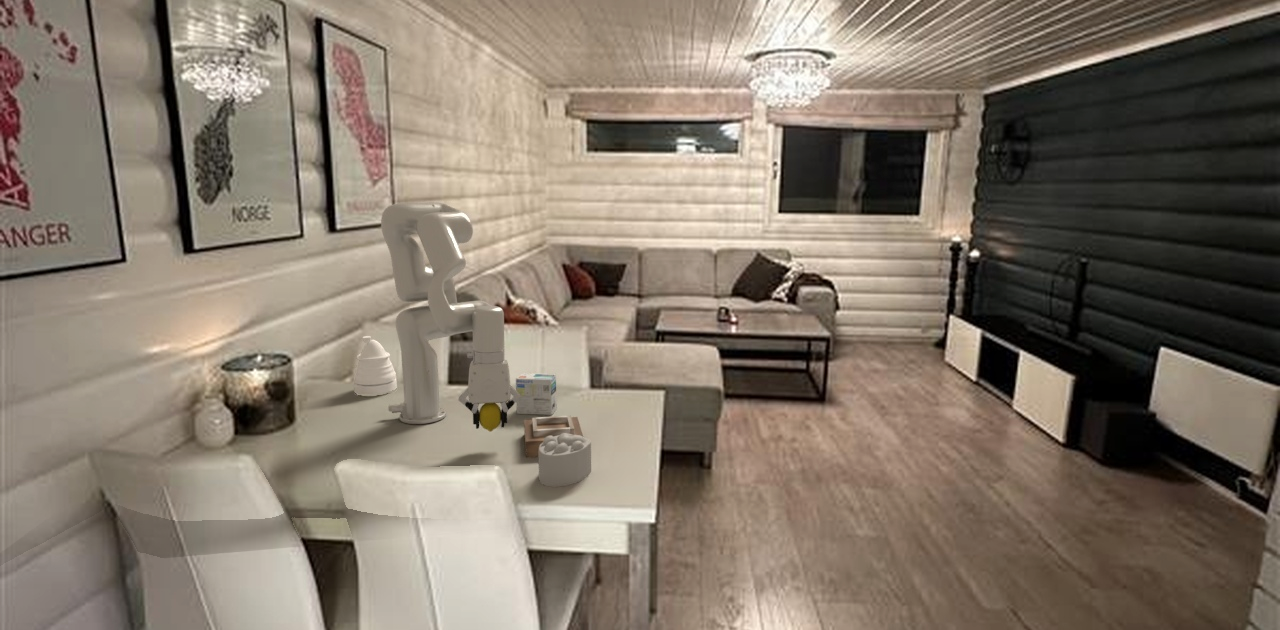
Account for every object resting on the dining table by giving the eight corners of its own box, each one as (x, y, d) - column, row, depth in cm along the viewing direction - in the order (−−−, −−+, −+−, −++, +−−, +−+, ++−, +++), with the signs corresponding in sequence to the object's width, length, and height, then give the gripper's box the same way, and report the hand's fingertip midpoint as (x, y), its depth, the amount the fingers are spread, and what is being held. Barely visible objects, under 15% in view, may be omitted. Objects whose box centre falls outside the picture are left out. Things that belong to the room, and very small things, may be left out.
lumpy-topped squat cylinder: (596, 469, 161) (596, 433, 159) (568, 490, 149) (567, 452, 147) (558, 461, 165) (558, 426, 163) (527, 482, 153) (526, 445, 152)
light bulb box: (557, 408, 204) (556, 373, 202) (552, 415, 198) (551, 379, 196) (522, 407, 205) (521, 372, 203) (515, 414, 199) (514, 378, 197)
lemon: (505, 429, 175) (505, 399, 173) (494, 436, 170) (493, 405, 168) (486, 426, 177) (486, 396, 175) (474, 433, 171) (474, 403, 170)
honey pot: (371, 399, 213) (367, 342, 209) (345, 392, 220) (341, 337, 216) (405, 389, 223) (402, 334, 220) (380, 383, 230) (376, 330, 227)
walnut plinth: (526, 457, 167) (525, 435, 166) (524, 434, 182) (524, 414, 181) (583, 453, 170) (583, 432, 169) (577, 431, 185) (577, 411, 184)
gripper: (451, 361, 164) (453, 433, 168) (524, 359, 167) (525, 430, 171) (454, 353, 171) (456, 422, 175) (524, 351, 174) (524, 419, 178)
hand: (490, 425), depth 173 cm, fingers closed on lemon, 5 cm apart
